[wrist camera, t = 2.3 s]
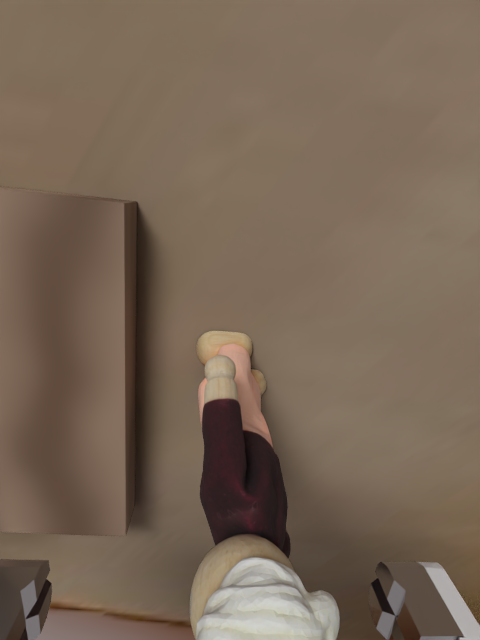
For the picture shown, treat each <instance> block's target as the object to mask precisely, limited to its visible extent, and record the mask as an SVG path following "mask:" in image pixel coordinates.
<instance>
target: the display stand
mask: <svg viewBox="0 0 480 640" xmlns="http://www.w3.org/2000/svg"><path fill="white" fill-rule="evenodd" d="M136 266H137V202H134V201H126V200H117V199H108V198H99V197H90V196H81V195H72V194H63V193H55V192H46V191H37V190H28V189H19V188H10V187H1V186H0V532H13V533H41V534H70V535H98V536H126V534H127V530H128V527H129V523H130V520H131V516H132V513H133V509H134V506H135V406H136Z"/></svg>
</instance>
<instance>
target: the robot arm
mask: <svg viewBox="0 0 480 640" xmlns="http://www.w3.org/2000/svg"><path fill="white" fill-rule="evenodd" d="M49 571H50V567H49V560H9V559H0V640H35V639H36V638H37V637H38V636H39V635H40V633H41V631H42V628H43V626H44V623H45V621H46V618H47V614H48V611H49V607H50V603H51V595H52V585H51V583H50V582H49V581H48V580H47V579H46V578H47V576H48V574H49ZM375 572H376V574H377V577H378V578H377V579H376V580H375V581H374V582H372V583H371V586H370V589H369V607H370V611H371V615H372V618H373V621H374V624H375V627H376V629H377V630H378V631H379V632H380V633H381V634H382V635H383V636H384V637H385V638H386V640H480V626H479V624H478V622H477V621H476V619H475V618H474V616H473V614H472V613H471V611H470V610H469V608H468V607H467V605H466V603H465V602H464V600H463V599H462V597H461V595H460V594H459V592H458V591H457V589H456V587H455V586H454V584H453V583H452V581H451V579H450V578H449V576H448V575H447V573H446V572H445V570H444V568H443V567H442V566H441V565H440V564H439V563H437V562H416V561H403V562H381V563H379V564H378V565H377V568H376V571H375Z"/></svg>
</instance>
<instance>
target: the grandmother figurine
mask: <svg viewBox="0 0 480 640" xmlns="http://www.w3.org/2000/svg"><path fill="white" fill-rule="evenodd" d="M251 354H252V341H251V339H250V338H249V337H248V336H247V335H246V334H243V333H238V332H225V331H210V332H207V333H205V334H203V335H202V336H201V337H200V338H199V340H198V343H197V355H198V358H199V360H200V361H201V362H202V363H203V364H204V365H205V377H206V378H205V379H204V380H203V381H202V382H201V384H200V386H199V390H198V396H199V409H200V420H201V426H202V432H203V439H204V462H203V473H202V479H201V485H200V499H201V503H202V506H203V509H204V511H205V514H206V517H207V520H208V523H209V527H210V530H211V533H212V536H213V539H214V543H215V547H213V548H212V549H211V550H210V551H209V552H208V553H207V554H206V556H205V557H204V558H203V560H202V562H201V564H200V565H199V568H198V570H197V572H196V575H195V578H194V581H193V585H192V589H191V595H190V620H191V626H192V630H193V634H194V637H195V640H336V638H337V635H338V631H339V622H340V617H339V610H338V606H337V603H336V601H335V599H334V598H333V596H332V595H331V594H330V593H328V592H326V591H323V590H317V591H314V592H311V593H310V592H307V591H306V590H305V588H304V586H303V584H302V582H301V579H300V578H299V577H298V575H297V574H296V573H295V570H294V568H293V566H292V564H291V563H290V561H289V560H288V558H289V555H290V538H289V535H288V533H287V531H286V519H287V497H286V492H285V487H284V483H283V478H282V473H281V468H280V463H279V459H278V457H277V455H276V454H275V452H274V449H273V445H272V440H271V436H270V433H269V429H268V426H267V424H266V421H265V419H264V417H263V415H262V413H261V395H262V394H263V393H264V392H265V390H266V385H267V383H266V380H265V377H264V376H263V374H262V373H261V372H260V371H258V370H255V369H251V361H250V356H251Z"/></svg>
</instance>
